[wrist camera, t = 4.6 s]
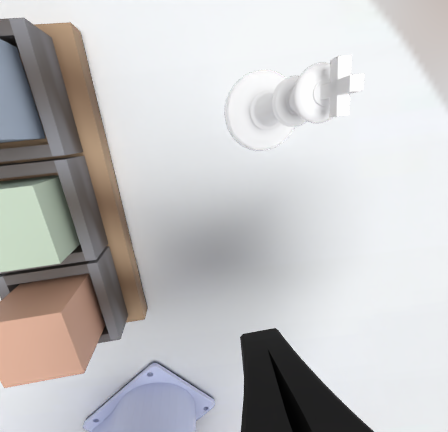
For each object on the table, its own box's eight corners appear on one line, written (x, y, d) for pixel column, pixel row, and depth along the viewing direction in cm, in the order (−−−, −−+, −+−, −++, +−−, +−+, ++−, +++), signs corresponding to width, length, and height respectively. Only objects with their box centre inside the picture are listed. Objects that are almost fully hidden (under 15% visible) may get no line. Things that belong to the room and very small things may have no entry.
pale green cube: (87, 236, 16) (60, 263, 12) (20, 245, 15) (-26, 276, 12) (68, 173, 14) (32, 185, 11) (-5, 182, 14) (-65, 196, 11)
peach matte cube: (105, 325, 16) (84, 373, 13) (42, 336, 16) (4, 388, 13) (88, 273, 15) (60, 312, 12) (19, 284, 15) (-29, 327, 11)
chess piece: (229, 155, 17) (277, 179, 8) (220, 74, 15) (268, -20, 6) (297, 145, 17) (423, 158, 8) (295, 66, 16) (450, -33, 6)
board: (147, 308, 20) (139, 343, 17) (43, 326, 19) (13, 365, 16) (80, 31, 14) (46, -1, 10) (-77, 41, 13) (-167, 9, 10)
